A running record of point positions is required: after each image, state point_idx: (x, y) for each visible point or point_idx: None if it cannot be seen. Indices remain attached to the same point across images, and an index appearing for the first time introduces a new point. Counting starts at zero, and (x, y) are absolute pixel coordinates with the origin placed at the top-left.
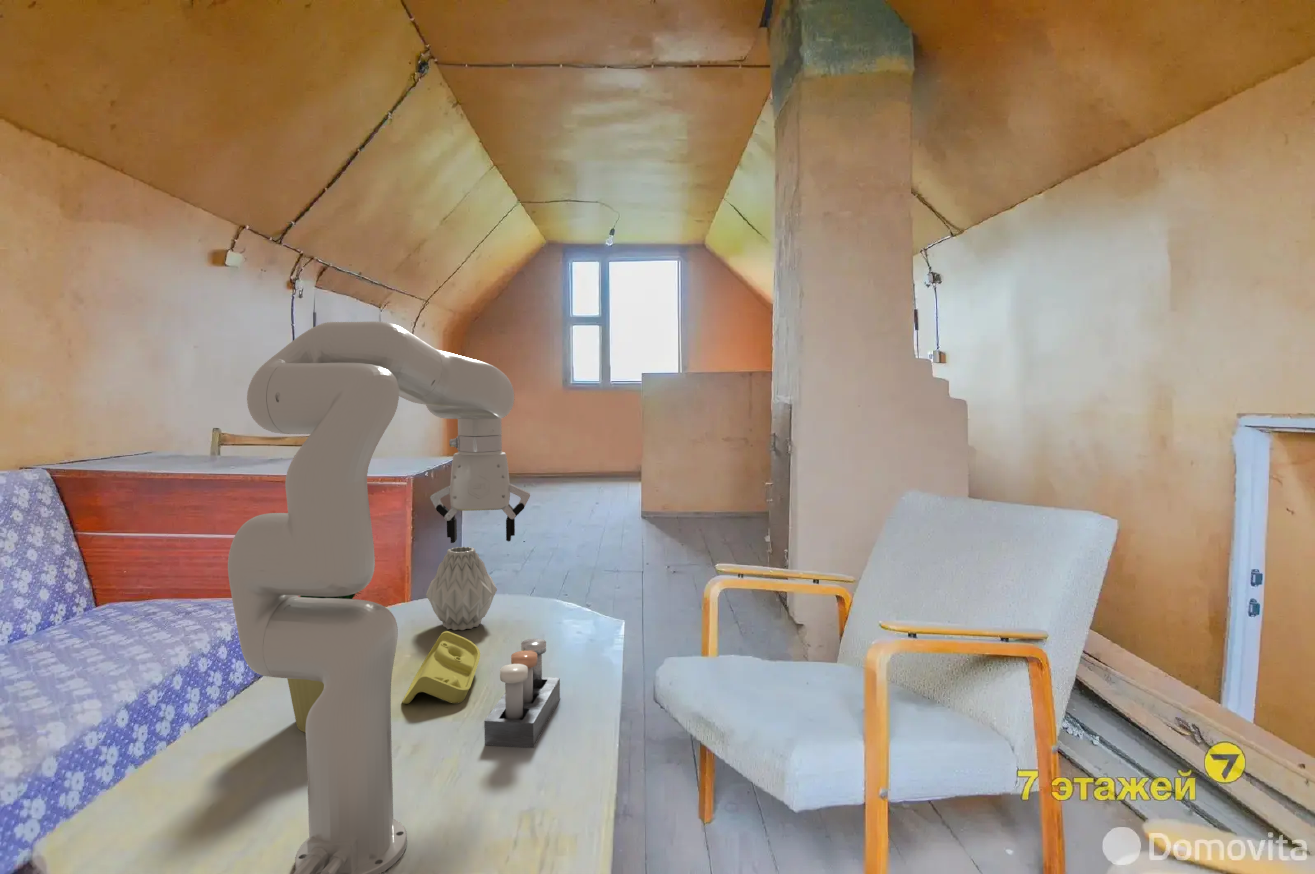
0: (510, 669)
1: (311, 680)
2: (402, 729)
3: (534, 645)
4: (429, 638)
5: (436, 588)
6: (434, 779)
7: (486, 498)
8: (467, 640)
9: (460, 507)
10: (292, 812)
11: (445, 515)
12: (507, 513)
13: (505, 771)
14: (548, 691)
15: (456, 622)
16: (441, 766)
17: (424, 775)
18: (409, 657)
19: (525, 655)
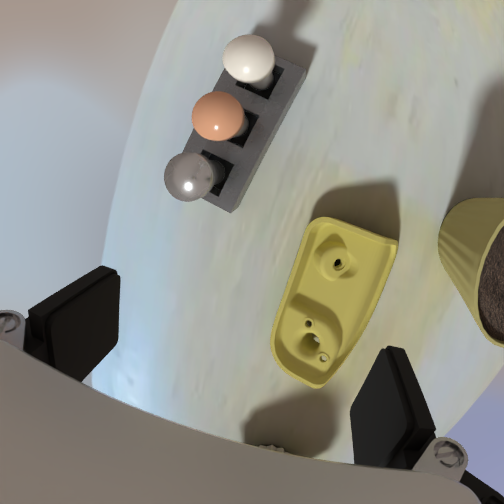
0: (254, 55)
1: None
2: (404, 168)
3: (187, 161)
4: (316, 438)
5: None
6: (370, 27)
7: (38, 486)
8: (284, 368)
9: (415, 484)
10: (492, 44)
11: (465, 463)
12: (14, 344)
13: (289, 13)
14: (195, 135)
15: (279, 451)
16: (362, 49)
17: (381, 40)
18: (354, 395)
19: (214, 114)
